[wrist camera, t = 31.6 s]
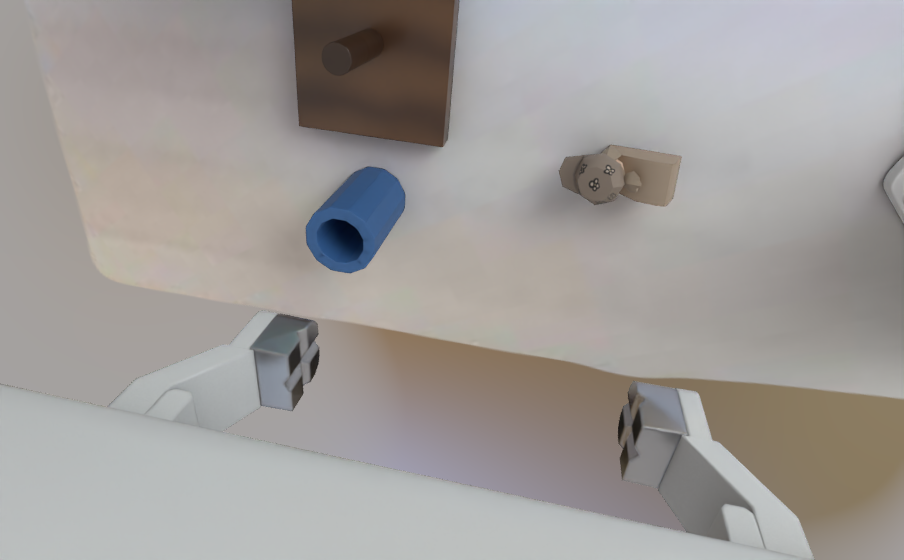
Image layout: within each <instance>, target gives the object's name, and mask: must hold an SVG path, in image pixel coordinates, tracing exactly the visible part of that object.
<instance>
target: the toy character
mask: <svg viewBox="0 0 904 560" xmlns="http://www.w3.org/2000/svg"><path fill="white" fill-rule="evenodd" d="M681 158H682V157H681V156H677V155H671V154H665V153H659V152H653V151H647V150H641V149H634V148H628V147H622V146H615V145H610V146H609V147H608V148H606V149H605V150H604V151H603V152H602V153H601V154H593V155H581V156H573V157H566V158H565V160H564V162H563V164H562V166H561V168H560V170H559V174H560V178H561V182H562V186H563V187H565V188H567V189H569V190H571V191H573V192H575V193H577V194H579V195H581V196H582V197H584V198H585V199H587V200H588V201H590V202H591V203H593V204H594V205H597V204H602V203H607V202H612V201H614V200H615V199H616V197H617V195H618V194H621V195H624V196H626V197H628V198H630V199H632V200H634V201H637V202H641V203H646V204H650V205H655V206H667V205H668V204H669V202H670V201H671V200H672V199H673V196H674V192H675V187H676V182H677V177H678V172H679V168H680V163H681Z"/></svg>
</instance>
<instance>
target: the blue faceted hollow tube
mask: <svg viewBox="0 0 904 560" xmlns="http://www.w3.org/2000/svg"><path fill="white" fill-rule="evenodd" d="M404 208H405V192H404V190H403V189H402V187H401V185H400V183H399V181H398V180H397V178H396V177H394V176H393V175H391V174H390V173H389V172H387V171H386V170H384V169H380V168H374V167H366V168H363V169H361V170H359V171H356V172H354V173H353V174H352V175H351V176H350V177H349V178H348V179H347V180H346V181H345V182H344V183H343V184H342V185H341V186H340V188H339V189H338V190H337V191H336V192H335V193H334V194H333V195H332V196H331V197H330V198H329V199H328V200H327V201H326V202H325V203H324V204H323V205H322V206H321V207H320V208H319V209H318V210H317V211H316V212H315V213H314V214H313V216H312V217H311V219H310V221H309V222H308V224H307V225H306V241H307V245H308V247H309V249H310V250H311V252H312V254H313V255H314V257H315V258H316V260H317V261H319V262H320V263H322V264H323V265H324V266H326V267H327V268H329V269H330V270H333V271H339V272H345V273H352V272H355V271H358V270H361V269H364V268H365V267H366V266H367V265H368V264H369V262H370V261H371V260H372V258H373V257H374V255H375V254H376V252H377V251H378V249H379V248H380V246H381V245H382V243H383V241H384V240H385V238H386V237H387V235H388V234H389V232H390V231H391V229H392V228H393V226H394V224H395V223H396V221H397V220H398V218H399V217H400V215H401V214H402V212H403V211H404Z"/></svg>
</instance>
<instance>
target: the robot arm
mask: <svg viewBox="0 0 904 560" xmlns="http://www.w3.org/2000/svg"><path fill="white" fill-rule="evenodd" d="M883 187H884V190H885V192H886V194H887V196H888V197H889V199H890V201H891V203H892V204H893V206H894V208H895V210H896V212H897V213H898V215H899V217H900V219H901V221H902V222H903V224H904V156H903V157H902V158H901V159H900V160H899V161H898V162H897V163H896V164H895V165H894V166H893V167H892V168H891V170H890V171H889V172H888V173H887V175H886V177H885V178H884V182H883ZM317 335H318V324H317V323H316V322H315V321H313V320H308V319H303V318H299V317H294V316H290V315H285V314H279V313H274V312H270V311H265V310H261V311H259V312H257V313H256V314H255V315H254V317H253V318H252V319H251V320H250V321H249V322H248V324H247V325H246V326H245V327H244V328H243V329H242V330H241V331H240V333H239V334H238V335H237V336H236V337H235V338H234V339H233V341H232V342H231V343H230V344H229V345H224V344H223V345H220V346H218V347H215V348H212V349H210V350H208V351H205V352H203V353H200V354H197V355H195V356H192V357H190V358H187V359H185V360H182V361H180V362H177V363H174V364H172V365H169V366H167V367H165V368H162V369H159V370H157V371H154V372H152V373H149V374H146V375H144V376H142V377H139V378H137V379H135V380H134V381H133V382H132V383H131V384H130V385H129V386H128V387H127V388H126V389H125V390H124V391H123V392H122V393H121V394H120V395H119V396H117V397H116V398H115V399H114V401H112V402H111V403H110V404H109V405H108V406H107V407H106V406H101V405H96V404H92V403H87V402H82V401H78V400H73V399H69V398H64V397H60V396H55V395H50V394H46V393H41V392H36V391H32V390H27V389H23V388H18V387H13V386H9V385H4V384H0V560H814V557H813V555H812V552H811V550H810V547H809V545H808V542H807V539H806V537H805V534H804V532H803V529H802V527H801V524H800V522H799V519H798V517H797V516H796V515H794V514H793V513H792V512H791V511H790V510H789V509H788V508H787V507H786V506H785V505H784V504H783V503H782V502H781V501H780V500H779V499H778V498H777V497H776V496H775V495H774V494H773V493H771V492H770V491H769V490H768V489H767V488H766V487H765V486H764V485H763V484H762V483H761V482H760V481H759V480H758V479H757V478H756V477H755V476H754V475H753V474H752V473H751V472H750V471H748V470H747V469H746V468H745V467H744V466H743V465H742V464H741V463H740V462H739V461H738V460H737V459H736V458H735V457H734V456H733V455H732V454H731V453H730V452H729V451H728V450H727V449H725V448H724V447H723V446H722V445H721V444H720V443H719V442H716V441H713V440H712V437H711V434H710V430H709V427H708V424H707V420H706V417H705V413H704V410H703V406H702V403H701V400H700V396H699V394H698V393H697V392H696V391H690V390H684V389H677V388H675V389H674V388H669V387H663V386H658V385H652V384H647V383H641V382H635V381H633V382H632V384H631V386H630V388H629V391H628V399H629V403H628V404H626V405H625V406H623V409H622V412H621V415H620V420H619V426H618V442H619V445H620V446H621V447H622V448H623V451H622V454H621V457H620V464H621V473H622V480H624V481H628V482H632V483H637V484H641V485H645V486H649V487H653V488H658V491H659V492H660V494H661V495H662V497H663V498H664V500H665V501H666V502H667V504H668V506H669V507H670V508H671V510H672V511H673V513H674V514H675V516H676V517H677V519H678V520H679V521H680V523H681V524H682V526H683V527H684V529H685V530H686V532H683V531H678V530H674V529H669V528H665V527H660V526H655V525H651V524H646V523H642V522H637V521H632V520H627V519H623V518H618V517H613V516H609V515H604V514H599V513H594V512H590V511H586V510H581V509H576V508H572V507H567V506H563V505H558V504H553V503H549V502H544V501H540V500H535V499H530V498H526V497H521V496H517V495H512V494H508V493H502V492H498V491H494V490H489V489H485V488H480V487H475V486H471V485H466V484H461V483H457V482H451V481H447V480H443V479H438V478H433V477H429V476H424V475H419V474H414V473H410V472H405V471H400V470H396V469H392V468H387V467H382V466H377V465H373V464H368V463H364V462H359V461H355V460H350V459H345V458H341V457H336V456H331V455H327V454H322V453H318V452H313V451H308V450H303V449H299V448H295V447H290V446H285V445H281V444H276V443H271V442H267V441H262V440H257V439H253V438H249V437H244V436H239V435H234V434H230V433H225V432H223V431H224V430H225V429H227V428H229V427H230V426H232V425H234V424H235V423H237V422H238V421H240V420H242V419H243V418H245V417H246V416H248V415H249V414H251V413H252V412H254V411H255V410H257V409H259V408H260V407H261V406H266V407H271V408H277V409H283V410H288V411H293V409H294V408H295V406H296V405H297V403H298V401H299V400H300V398H301V397H302V395H303V385H305V384H306V383H309V382H311V380H312V378H313V377H314V375H315V372H316V369H317V366H318V362H319V347H318V345H317V344H316V343H315V341H314V340H315V338H316V337H317Z"/></svg>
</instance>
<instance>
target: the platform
mask: <svg viewBox="0 0 904 560" xmlns="http://www.w3.org/2000/svg"><path fill="white" fill-rule="evenodd" d="M458 11H459V0H292V12H293V29H294V46H295V63H296V80H297V97H298V114H299V126H302V127H308V128H315V129H322V130H329V131H336V132H343V133H349V134H356V135H363V136H370V137H377V138H384V139H390V140H397V141H404V142H411V143H418V144H425V145H431V146H438V147H443V146H444V144H445V143H446V141H447V140H448V129H449V117H450V105H451V94H452V82H453V70H454V58H455V46H456V34H457V22H458Z"/></svg>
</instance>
